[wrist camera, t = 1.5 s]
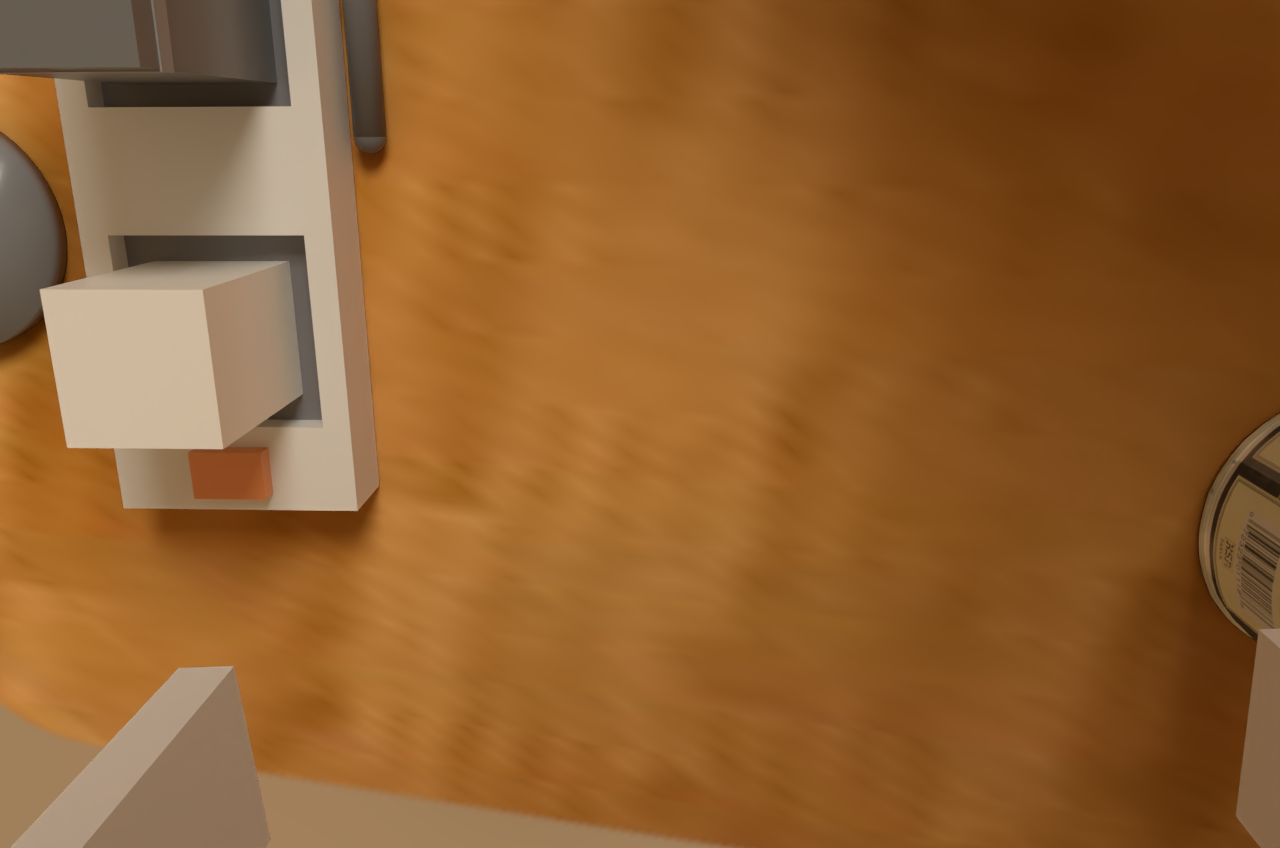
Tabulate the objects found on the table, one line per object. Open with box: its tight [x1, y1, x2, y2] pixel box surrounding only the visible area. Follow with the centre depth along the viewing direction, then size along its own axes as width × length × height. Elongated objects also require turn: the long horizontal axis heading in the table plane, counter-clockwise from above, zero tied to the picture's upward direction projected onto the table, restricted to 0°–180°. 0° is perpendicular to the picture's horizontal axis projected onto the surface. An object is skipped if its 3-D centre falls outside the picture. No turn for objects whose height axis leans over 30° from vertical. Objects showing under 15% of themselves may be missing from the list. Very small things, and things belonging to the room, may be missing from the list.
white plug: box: [39, 261, 303, 449], centre depth 30 cm, size 4×4×6 cm
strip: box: [54, 0, 386, 511], centre depth 31 cm, size 22×9×3 cm, turn 0°
